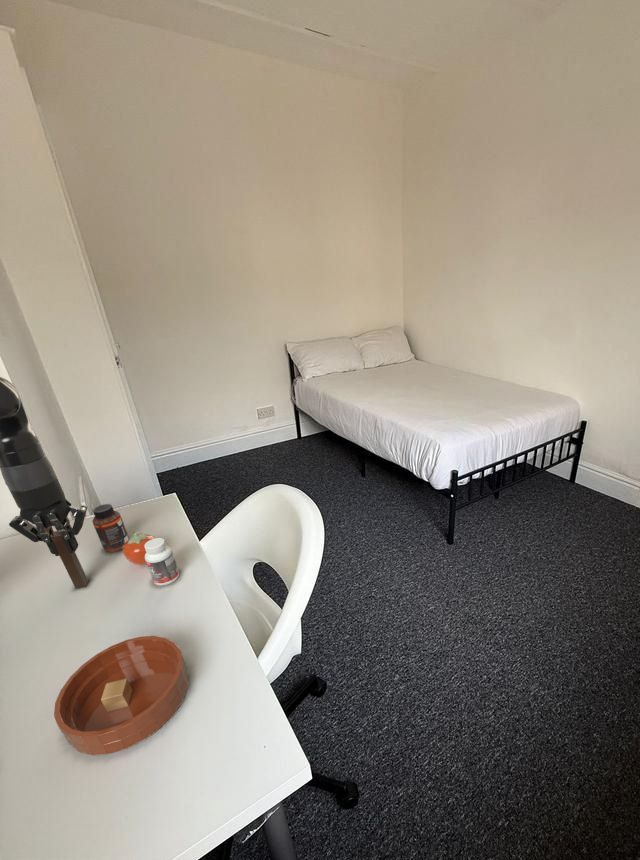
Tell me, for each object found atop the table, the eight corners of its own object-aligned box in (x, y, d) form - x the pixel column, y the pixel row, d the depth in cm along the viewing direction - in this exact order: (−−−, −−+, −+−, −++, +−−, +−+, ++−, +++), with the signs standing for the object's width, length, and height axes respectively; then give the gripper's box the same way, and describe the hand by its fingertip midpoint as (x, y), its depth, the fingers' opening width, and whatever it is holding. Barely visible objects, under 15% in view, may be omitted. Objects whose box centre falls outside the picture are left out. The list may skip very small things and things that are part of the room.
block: (107, 712, 65) (100, 700, 63) (112, 695, 67) (106, 683, 66) (128, 706, 65) (122, 694, 64) (132, 690, 68) (126, 678, 67)
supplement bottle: (136, 542, 107) (122, 504, 102) (114, 555, 102) (98, 516, 97) (120, 537, 109) (106, 499, 104) (98, 549, 104) (82, 511, 99)
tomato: (131, 554, 102) (121, 527, 98) (164, 548, 104) (155, 521, 100) (124, 573, 96) (113, 545, 92) (159, 566, 98) (149, 538, 94)
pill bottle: (148, 586, 92) (134, 550, 87) (162, 570, 96) (149, 535, 92) (171, 586, 91) (159, 550, 87) (184, 570, 96) (173, 535, 91)
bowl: (48, 774, 57) (33, 753, 55) (87, 671, 72) (76, 651, 70) (183, 734, 62) (174, 713, 59) (194, 645, 77) (187, 625, 74)
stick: (75, 589, 91) (50, 536, 85) (78, 583, 93) (53, 531, 87) (85, 587, 92) (61, 534, 86) (88, 581, 94) (64, 529, 87)
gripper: (79, 467, 85) (107, 536, 93) (-1, 478, 82) (36, 549, 90) (66, 483, 79) (98, 556, 87) (-21, 495, 76) (20, 570, 84)
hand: (66, 552), depth 88 cm, fingers closed on stick, 2 cm apart
